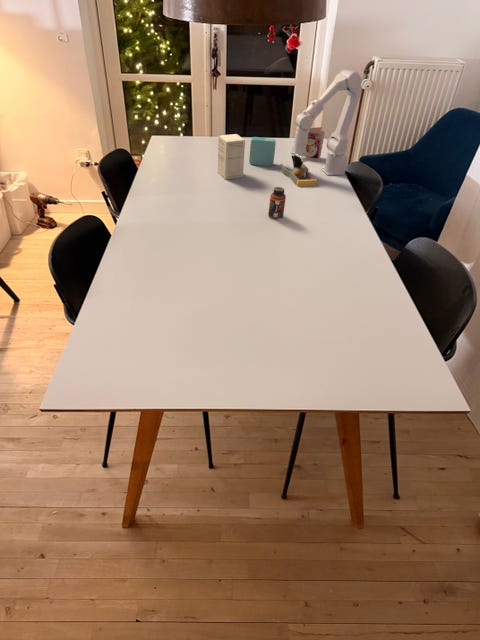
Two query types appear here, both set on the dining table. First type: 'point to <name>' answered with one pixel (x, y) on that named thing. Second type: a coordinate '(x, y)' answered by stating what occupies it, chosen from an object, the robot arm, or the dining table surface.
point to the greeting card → (314, 144)
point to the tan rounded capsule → (299, 172)
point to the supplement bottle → (277, 203)
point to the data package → (262, 151)
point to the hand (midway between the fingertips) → (296, 171)
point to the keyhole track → (309, 182)
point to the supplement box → (231, 156)
